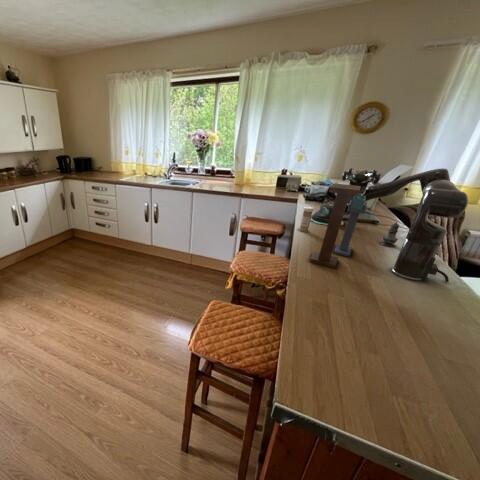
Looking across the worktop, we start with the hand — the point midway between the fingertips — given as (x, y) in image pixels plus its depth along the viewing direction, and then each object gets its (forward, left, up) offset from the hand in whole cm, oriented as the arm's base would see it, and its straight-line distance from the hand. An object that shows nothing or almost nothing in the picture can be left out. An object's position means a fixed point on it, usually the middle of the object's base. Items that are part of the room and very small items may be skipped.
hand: (362, 170), depth 116 cm
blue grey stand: (-2, +14, -35) cm, 38 cm away
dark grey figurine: (-19, -10, -35) cm, 41 cm away
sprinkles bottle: (+18, -5, -35) cm, 40 cm away
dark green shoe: (+11, -34, -35) cm, 50 cm away
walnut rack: (+3, +31, -35) cm, 47 cm away
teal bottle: (-2, +10, -13) cm, 17 cm away
